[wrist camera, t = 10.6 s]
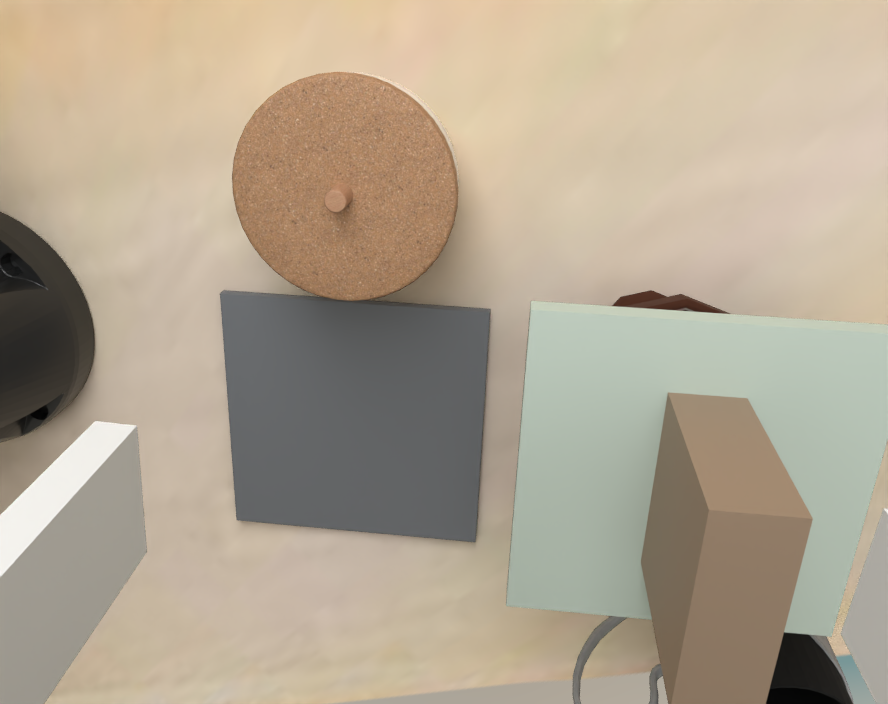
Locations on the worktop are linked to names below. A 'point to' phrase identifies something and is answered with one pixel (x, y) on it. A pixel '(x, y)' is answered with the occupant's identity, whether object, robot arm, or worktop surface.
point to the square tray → (356, 413)
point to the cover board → (621, 430)
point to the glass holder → (794, 679)
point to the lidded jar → (346, 185)
